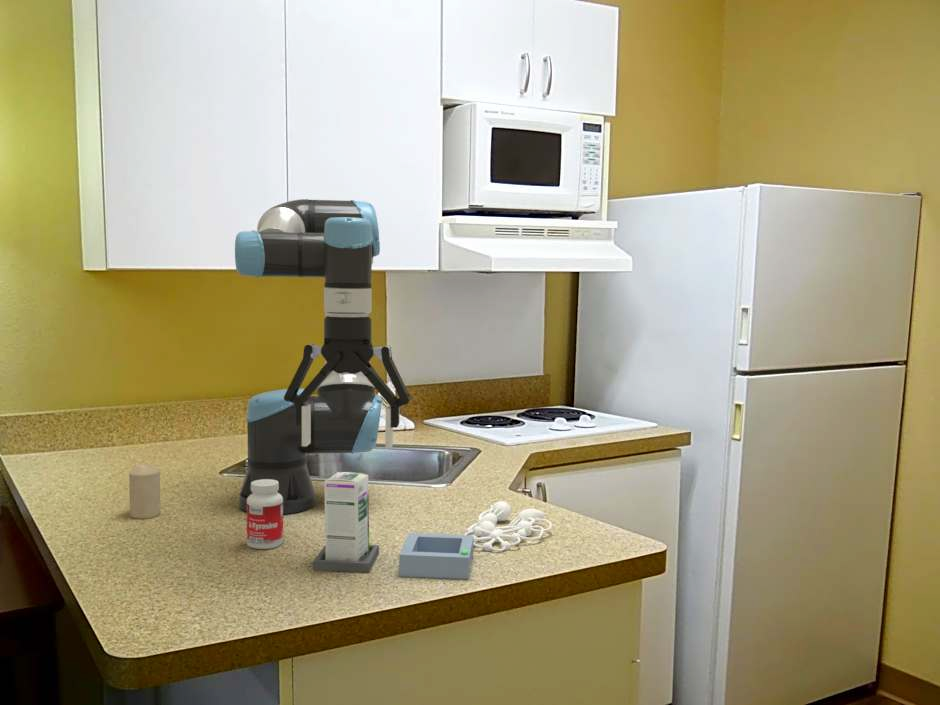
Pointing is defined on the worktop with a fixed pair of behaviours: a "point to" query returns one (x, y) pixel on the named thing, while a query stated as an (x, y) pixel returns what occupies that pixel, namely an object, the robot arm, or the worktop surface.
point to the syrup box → (347, 517)
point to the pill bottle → (264, 515)
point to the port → (436, 556)
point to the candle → (144, 491)
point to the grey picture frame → (346, 562)
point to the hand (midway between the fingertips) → (347, 446)
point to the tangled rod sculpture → (501, 513)
